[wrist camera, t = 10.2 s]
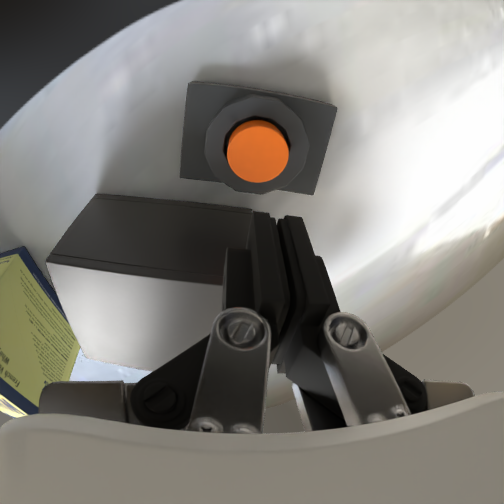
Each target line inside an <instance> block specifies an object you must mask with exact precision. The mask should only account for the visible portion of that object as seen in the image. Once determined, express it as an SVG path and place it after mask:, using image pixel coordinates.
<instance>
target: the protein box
mask: <svg viewBox="0 0 504 504" xmlns="http://www.w3.org/2000/svg"><path fill="white" fill-rule="evenodd" d="M79 349H80V345H79V343H78V341H77V339H76V337H75V335H74V333H73V331H72V329H71V326H70V324H69V322H68V320H67V317H66V315H65V313H64V311H63V308H62V306H61V303H60V301H59V298H58V296H57V295H56V293H55V292H54V291H53V289H52V288H51V286H50V285H49V284H48V282H47V281H46V279H45V278H44V276H43V275H42V273H41V272H40V270H39V269H38V267H37V266H36V264H35V263H34V261H33V260H32V258H31V256H30V255H29V253H28V251H27V250H26V248H25V247H24V246H23V247H20V248H17V249H14V250H11V251H7V252H5V253H1V254H0V410H1V411H2V412H4V413H5V414H7V415H8V416H11V417H13V418H18V417H22V416H26V415H34V414H38V409H39V398H40V394H41V392H42V391H43V389H44V388H45V386H47V385H49V384H50V383H52V382H57V381H69V379H70V376H71V373H72V369H73V366H74V364H75V361H76V358H77V355H78V352H79Z"/></svg>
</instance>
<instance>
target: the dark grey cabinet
mask: <svg viewBox="0 0 504 504" xmlns="http://www.w3.org/2000/svg"><path fill="white" fill-rule="evenodd" d="M251 216H252V209H246V208H238V207H230V206H221V205H213V204H204V203H194V202H185V201H175V200H165V199H154V198H143V197H131V196H118V195H105V194H95V195H94V197H93V198H92V199H91V200H90V201H89V203H88V204H87V205H86V206H85V208H84V209H83V210H82V211H81V213H80V214H79V215H78V216H77V218H76V219H75V220H74V222H73V223H72V224H71V225H70V227H69V228H68V229H67V231H66V232H65V233H64V235H63V236H62V238H61V239H60V240H59V242H58V243H57V245H56V246H55V247H54V249H53V250H52V252H51V253H50V255H49V256H48V258H47V259H46V261H45V263H46V266H47V269H48V272H49V275H50V277H51V280H52V283H53V286H54V288H55V291H56V293H57V296H58V298H59V301H60V303H61V306H62V308H63V311H64V313H65V315H66V317H67V320H68V322H69V324H70V326H71V329H72V331H73V333H74V335H75V337H76V339H77V341H78V343H79V345H80V347H81V349H82V351H83V353H84V355H85V357H86V358H87V359H92V360H96V361H101V362H105V363H110V364H115V365H120V366H125V367H130V368H136V369H142V370H148V371H155V370H156V369H158V368H159V367H161V366H163V365H164V364H166V363H167V362H169V361H170V360H172V359H173V358H175V357H176V356H178V355H179V354H181V353H182V352H184V351H185V350H187V349H188V348H190V347H191V346H193V345H194V344H196V343H197V342H199V341H200V340H202V339H203V338H205V337H206V336H208V335H209V334H211V330H212V326H213V322H214V320H215V318H216V316H218V315H219V314H220V313H221V312H222V289H223V275H224V265H225V257H226V250H227V247H232V248H242V249H246V243H247V238H248V232H249V227H250V221H251Z"/></svg>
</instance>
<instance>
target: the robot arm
mask: <svg viewBox="0 0 504 504" xmlns="http://www.w3.org/2000/svg"><path fill="white" fill-rule="evenodd" d="M271 363H272V364H277V371H278V373H286V377H287V378H288V379H290V380H291V381H292V390H293V393H294V397H295V400H296V403H297V406H298V410H299V413H300V416H301V420H302V423H303V426H304V429H305V432H296V433H277V434H276V433H275V434H263V426H264V416H265V405H266V394H267V383H268V372H269V368H270V365H271ZM0 504H504V392H489V393H484V394H481V395H477V396H475V395H474V392H473V390H472V389H471V387H470V386H469V385H467V384H466V383H463V382H451V381H437V380H425V379H424V380H423V381H422V382H421V381H420V380H419V379H418V378H417V377H415V376H414V375H412V374H411V373H410V372H408V371H407V370H405V369H404V368H402V367H401V366H399V365H398V364H397V363H395V362H394V361H392V360H391V359H389V358H388V357H386V356H385V355H384V354H382V352H381V350H380V348H379V346H378V344H377V342H376V340H375V338H374V336H373V334H372V332H371V330H370V328H369V327H368V326H367V324H366V323H365V322H364V321H363V320H362V319H361V318H359V317H357V316H355V315H354V314H350V313H347V312H340V309H339V306H338V303H337V300H336V297H335V294H334V291H333V288H332V285H331V282H330V279H329V276H328V273H327V270H326V267H325V265H324V262H323V259H322V257H320V256H315V254H314V251H313V248H312V245H311V242H310V239H309V236H308V233H307V230H306V227H305V225H304V222H303V219H302V217H296V216H289V215H285V217H284V219H279V220H278V222H277V225H276V220H275V218H270V214H269V213H264V212H255V211H253V212H252V216H251V221H250V227H249V232H248V238H247V243H246V249H242V248H232V247H227V250H226V257H225V265H224V275H223V289H222V312H221V313H220V314H219V315H218V316H216V318H215V320H214V322H213V326H212V330H211V334H209V335H208V336H206V337H205V338H203V339H202V340H200V341H199V342H197V343H196V344H194V345H193V346H191V347H190V348H188V349H187V350H185V351H184V352H182V353H181V354H179V355H178V356H176V357H175V358H173V359H172V360H170V361H169V362H167V363H166V364H164V365H163V366H161V367H159V368H158V369H156V370H155V371H153V372H152V373H150V374H149V375H147V376H145V377H144V378H142V379H141V380H140V381H139V382H138V383H124V382H123V381H57V382H52V383H50V384H49V385H47V386H45V388H44V389H43V391H42V392H41V394H40V398H39V409H38V414H34V415H26V416H22V417H18V418H14V419H12V420H10V421H8V422H6V423H5V424H4V425H3V426H2V427H1V428H0Z"/></svg>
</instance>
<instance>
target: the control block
mask: <svg viewBox="0 0 504 504" xmlns="http://www.w3.org/2000/svg"><path fill="white" fill-rule="evenodd" d="M336 112H337V107H335V106H334V105H332V104H329V103H325V102H321V101H317V100H313V99H308V98H304V97H299V96H295V95H290V94H285V93H279V92H274V91H268V90H262V89H256V88H249V87H242V86H234V85H226V84H217V83H206V82H193V81H192V82H190V83H188V88H187V97H186V106H185V116H184V126H183V138H182V150H181V165H180V178H186V179H196V180H205V181H214V182H223V183H225V184H226V185H228V186H229V187H231V188H232V189H233V190H235V191H238V192H246V193H254V194H265V193H268V192H271V191H274V190H282V191H288V192H295V193H301V194H307V195H314V191H315V188H316V185H317V181H318V178H319V174H320V171H321V167H322V164H323V160H324V157H325V153H326V149H327V146H328V142H329V138H330V135H331V131H332V127H333V123H334V120H335V116H336ZM252 120H263V121H266V122H269V123H271V124H273V125H274V126H276V127H277V128H278V129H279V130H280V132H281V133H282V135H283V137H284V139H285V141H286V143H287V146H288V150H289V157H288V162H287V165H286V167H285V168H284V170H283V171H282V172H281V173H280V174H279V175H278V176H277V177H275V178H273V179H272V180H269V181H266V182H259V183H256V182H249V181H246V180H244V179H242V178H240V177H239V176H237V175H236V174H235V173H234V172H233V170H232V169H231V167H230V165H229V163H228V159H227V150H228V144H229V139H230V137H231V135H232V133H233V132H234V130H235V129H236V128H237V127H238V126H240V125H241V124H243V123H245V122H248V121H252Z"/></svg>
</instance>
